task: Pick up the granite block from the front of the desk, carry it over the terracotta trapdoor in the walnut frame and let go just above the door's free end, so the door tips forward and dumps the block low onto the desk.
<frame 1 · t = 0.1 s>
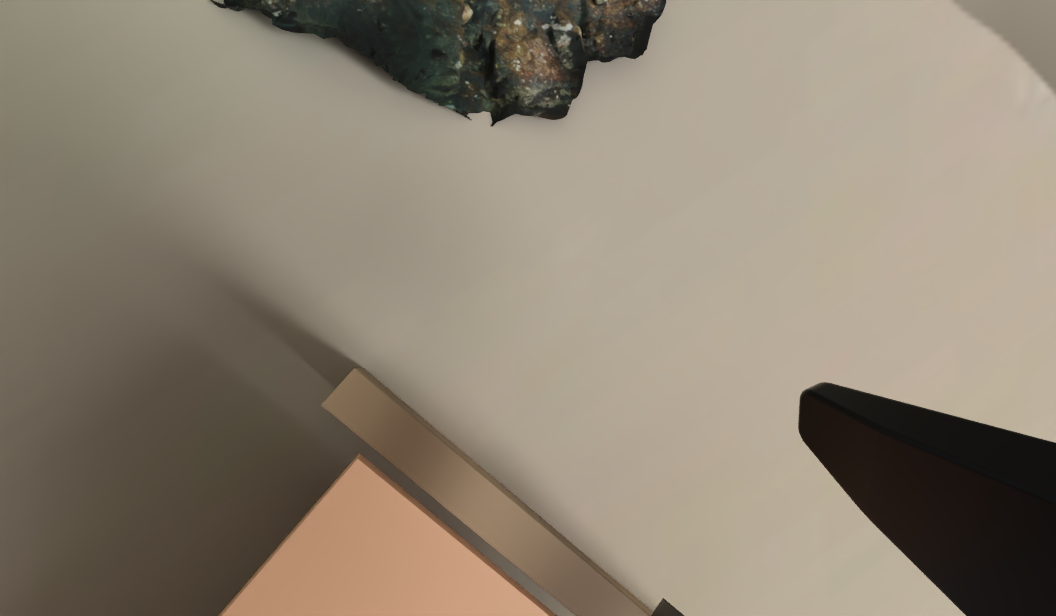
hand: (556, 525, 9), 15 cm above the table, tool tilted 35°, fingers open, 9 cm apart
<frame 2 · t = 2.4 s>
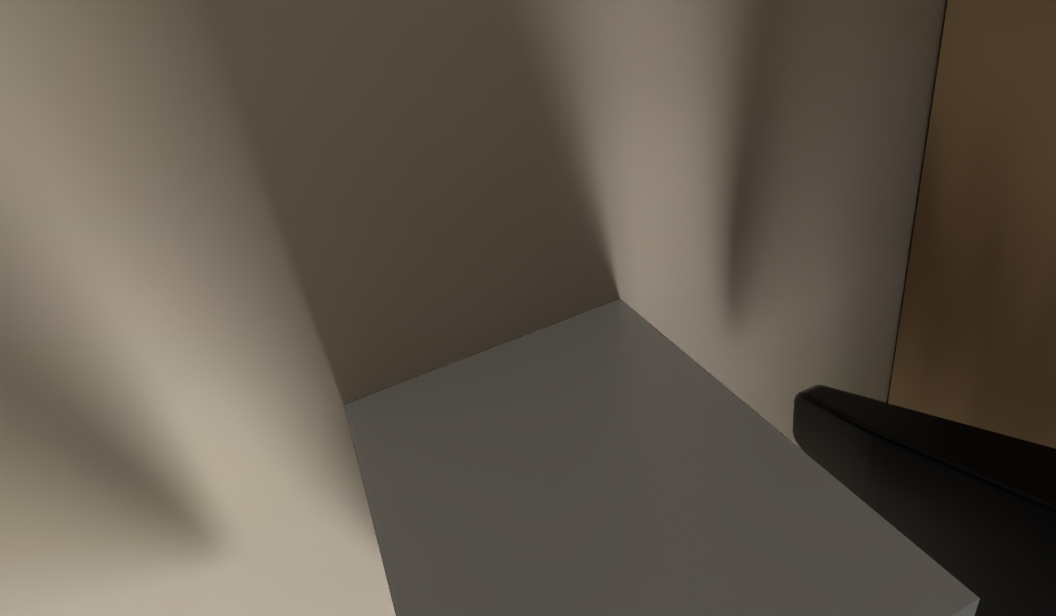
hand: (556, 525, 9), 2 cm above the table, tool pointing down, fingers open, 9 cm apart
stone: (516, 454, 11), on the table
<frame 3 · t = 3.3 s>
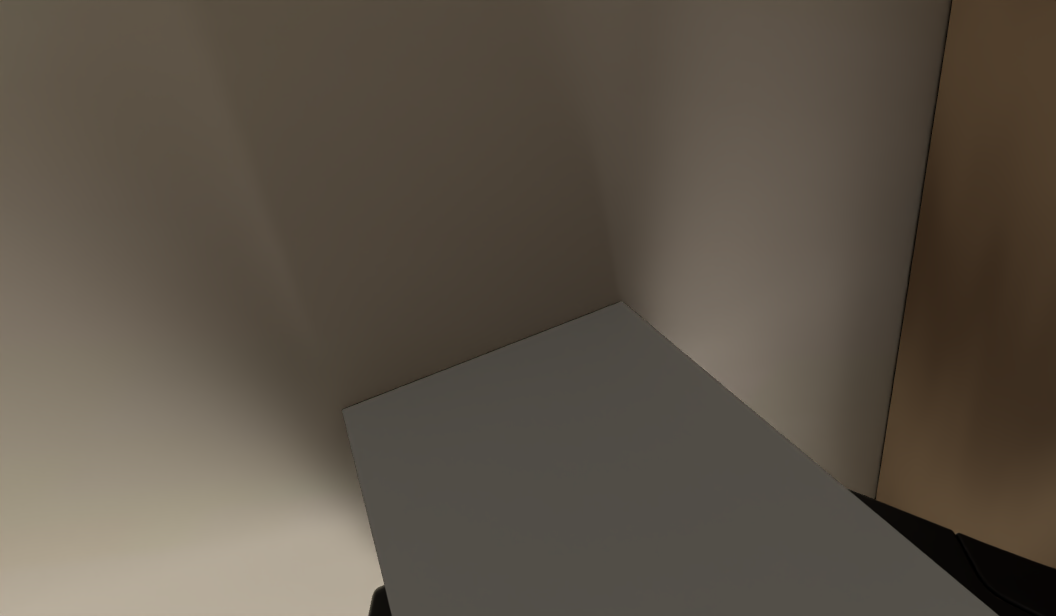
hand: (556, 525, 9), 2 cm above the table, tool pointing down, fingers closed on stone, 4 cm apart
stone: (518, 460, 11), on the table, touching gripper
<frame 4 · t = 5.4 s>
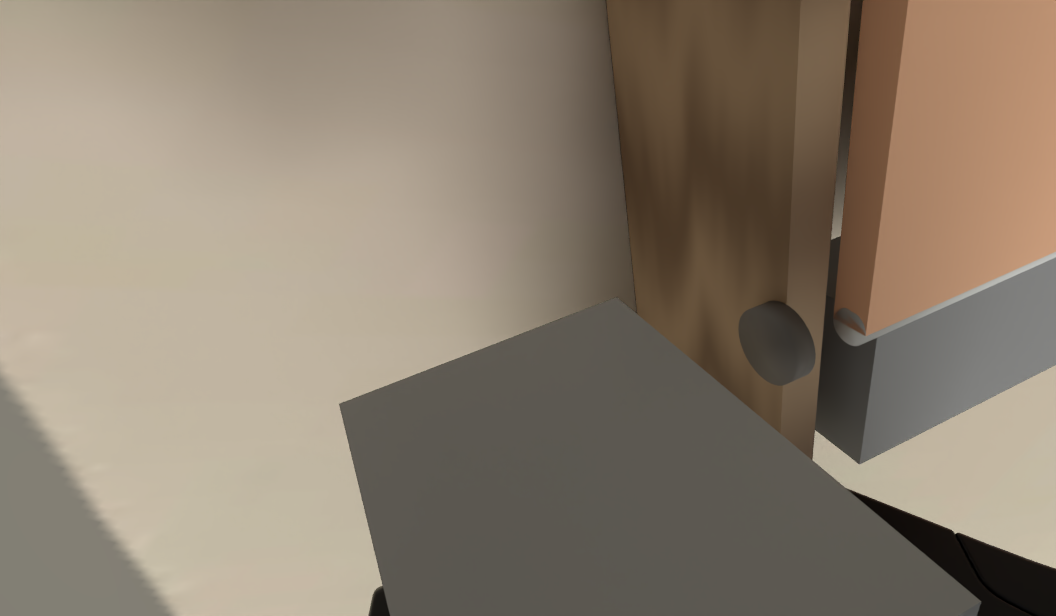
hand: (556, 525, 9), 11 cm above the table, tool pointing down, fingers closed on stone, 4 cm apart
stone: (514, 454, 11), point 10 cm above the table, touching gripper
trapdoor: (1005, 140, 17), point 6 cm above the table, hinge at 0.0°
trapdoor frame: (832, 85, 22), on the table
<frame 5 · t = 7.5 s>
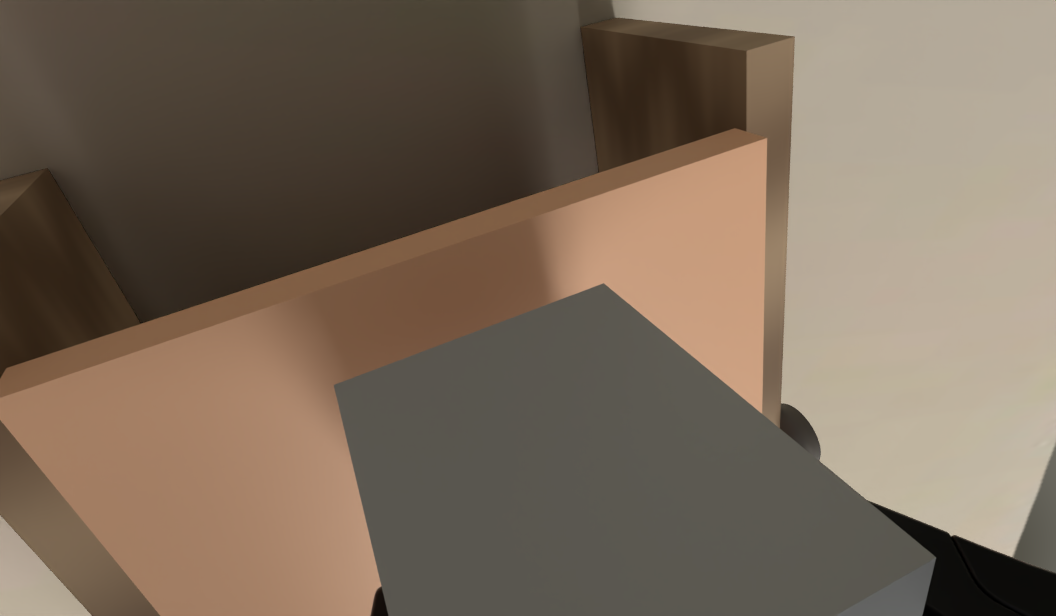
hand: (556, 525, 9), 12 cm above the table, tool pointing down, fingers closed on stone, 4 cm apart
stone: (504, 437, 11), point 10 cm above the table, touching gripper
trapdoor: (487, 475, 17), point 6 cm above the table, hinge at 0.0°
trapdoor frame: (423, 343, 22), on the table
when the fingers open (12 cm above the table, at t = 7.7 s): stone drops 6 cm and tips over, resting on trapdoor.
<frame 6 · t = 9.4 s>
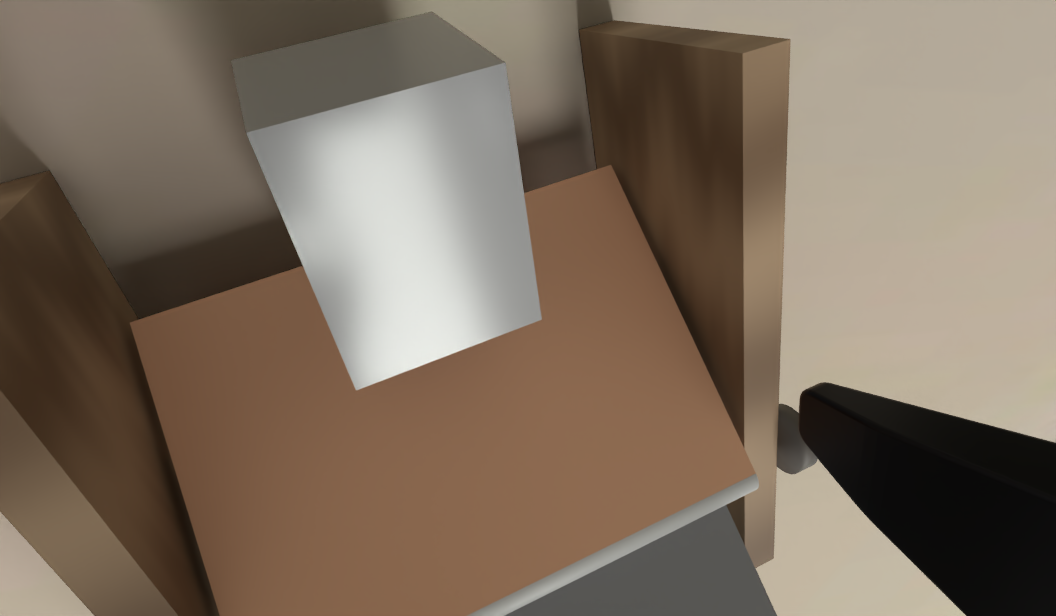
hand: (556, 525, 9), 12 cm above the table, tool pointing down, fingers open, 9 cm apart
stone: (424, 300, 16), point 4 cm above the table, tilted 81°, touching trapdoor
trapdoor: (487, 493, 19), point 5 cm above the table, hinge at -42.0°, touching stone
trapdoor frame: (423, 344, 22), on the table
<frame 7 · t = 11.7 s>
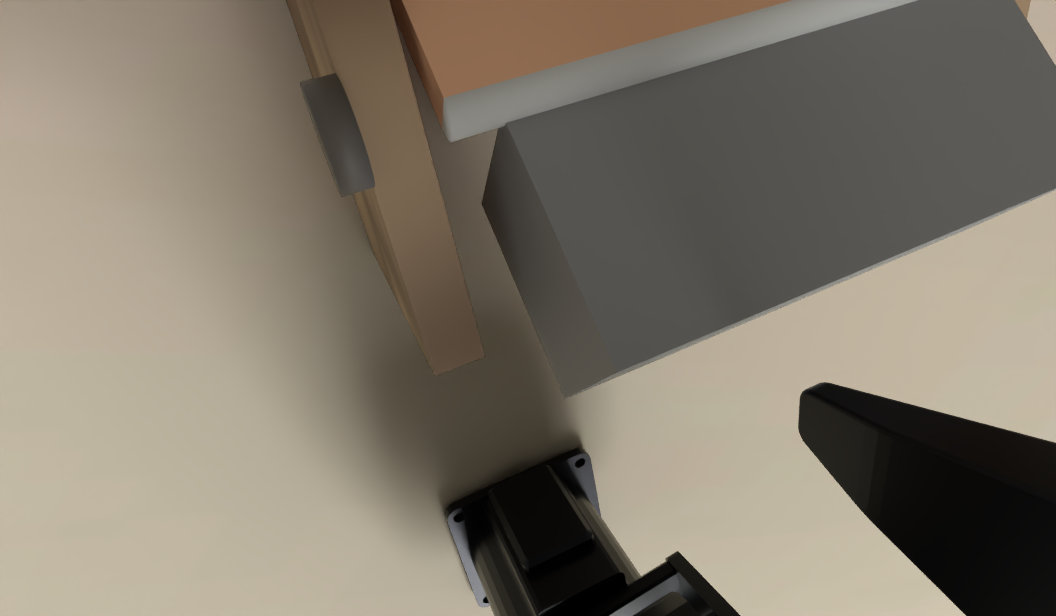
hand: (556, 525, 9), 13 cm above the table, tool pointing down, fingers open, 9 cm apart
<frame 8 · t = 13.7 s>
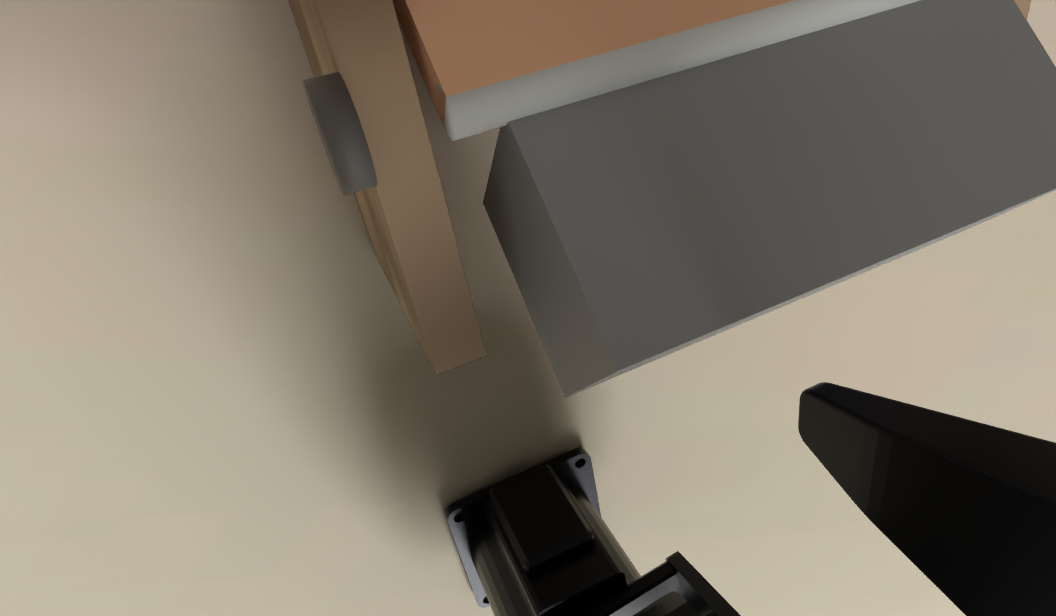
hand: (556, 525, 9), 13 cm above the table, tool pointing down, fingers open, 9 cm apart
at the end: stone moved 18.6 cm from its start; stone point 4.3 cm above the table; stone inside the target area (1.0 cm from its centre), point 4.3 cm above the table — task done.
